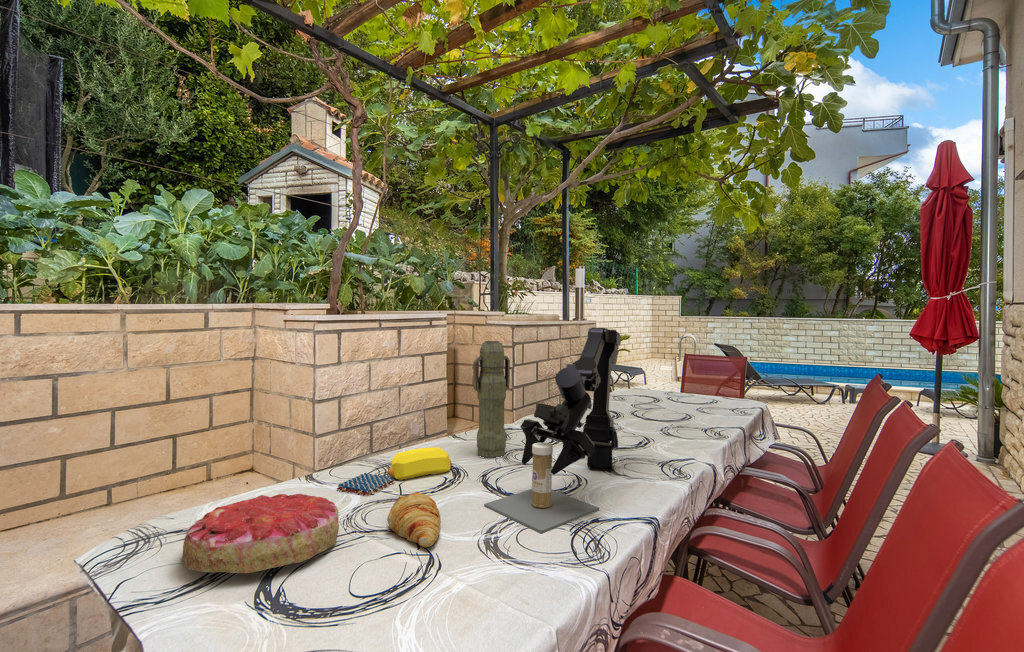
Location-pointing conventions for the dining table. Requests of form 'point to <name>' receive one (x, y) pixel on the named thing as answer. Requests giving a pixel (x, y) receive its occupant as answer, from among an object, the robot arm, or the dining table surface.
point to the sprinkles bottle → (542, 475)
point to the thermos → (491, 398)
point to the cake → (261, 534)
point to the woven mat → (365, 484)
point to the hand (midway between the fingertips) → (537, 468)
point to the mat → (541, 510)
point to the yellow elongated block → (419, 463)
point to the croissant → (416, 519)
